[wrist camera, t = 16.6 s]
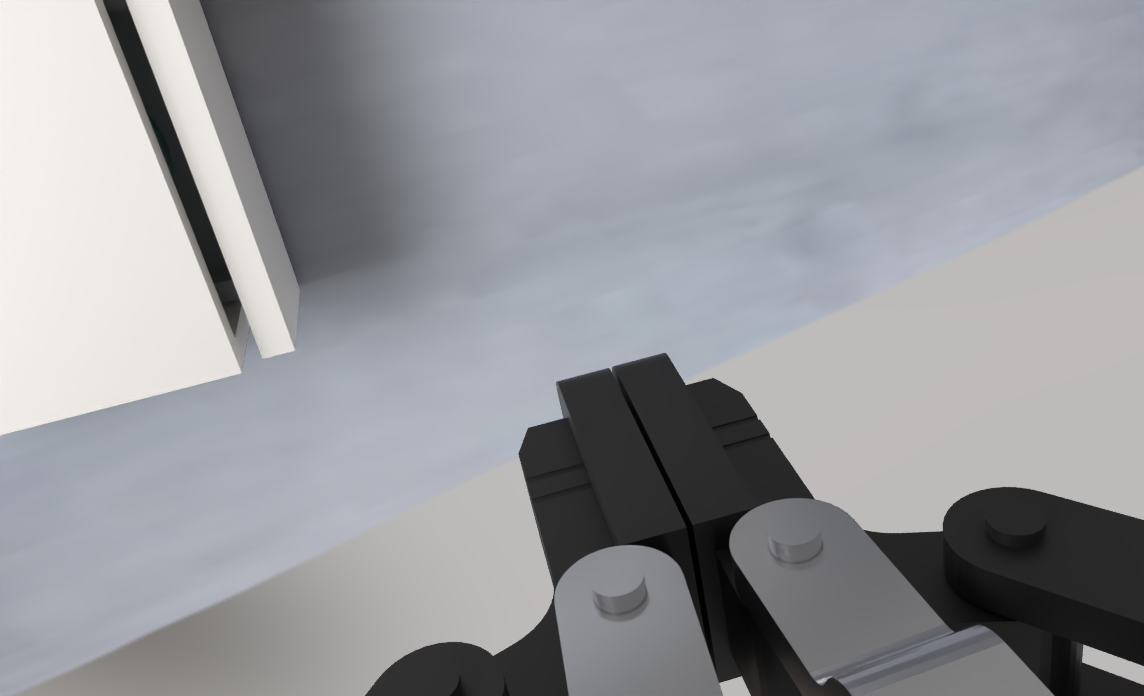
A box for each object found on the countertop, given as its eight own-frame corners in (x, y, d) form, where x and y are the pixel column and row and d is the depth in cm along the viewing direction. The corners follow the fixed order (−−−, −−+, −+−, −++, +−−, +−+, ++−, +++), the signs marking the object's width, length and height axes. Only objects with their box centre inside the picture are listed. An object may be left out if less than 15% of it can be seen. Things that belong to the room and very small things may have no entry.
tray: (-97, 389, 35) (-154, 465, 31) (-311, 24, 29) (-416, 59, 25) (299, 289, 36) (295, 350, 32) (171, -81, 30) (145, -64, 26)
